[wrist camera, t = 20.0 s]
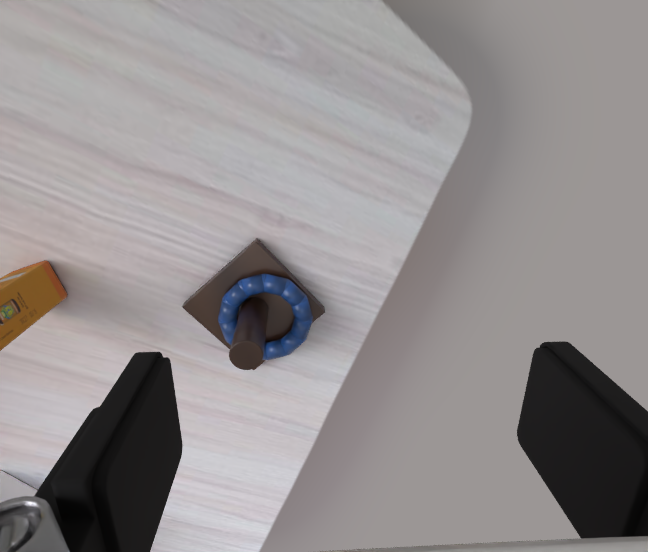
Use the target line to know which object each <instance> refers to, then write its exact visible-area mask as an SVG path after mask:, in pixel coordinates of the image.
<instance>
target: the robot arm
mask: <svg viewBox="0 0 648 552" xmlns="http://www.w3.org/2000/svg"><path fill="white" fill-rule="evenodd" d="M517 436H518V441H519V443H520V445H521V447H522V448H523V450H524V452H525V453H526V455H527V456H528V458H529V459H530V461H531V462H532V464H533V465H534V467H535V468H536V470H537V471H538V473H539V475H541V477H542V479H543V481H544V482H545V484H546V485H547V487H548V488H549V490H550V491H551V493H552V494H553V496H554V497H555V499H556V501H557V502H558V503H559V505H560V506H561V508H562V509H563V511H564V513H565V514H566V515H567V517H568V519H569V520H570V522H571V523H572V525H573V527H574V528H575V529H576V531H577V533H578V534H579V536H580V537H581V539H563V540H562V539H561V540H540V541H517V542H494V543H475V544H454V545H434V546H416V547H415V546H414V547H395V548H376V549H357V550H340V551H321V552H648V411H647V410H645V409H644V408H643V407H642V406H641V405H639V403H637V402H636V401H635V400H634V399H633V398H631V396H629V395H628V394H627V393H626V392H625V391H624V390H623V389H621V388H620V387H619V386H618V385H617V384H616V383H615V382H613V381H612V380H611V379H610V378H609V377H608V376H607V375H605V374H604V373H603V372H602V371H601V370H600V369H599V368H597V367H596V366H595V365H594V364H593V363H592V362H590V360H588V359H587V358H586V357H585V356H584V355H583V354H582V353H580V352H579V351H578V350H577V349H576V348H575V347H574V346H572V345H571V344H570V343H568V342H544V343H542V344H541V345H540V348H536V349H535V351H534V354H533V358H532V363H531V367H530V372H529V377H528V382H527V387H526V392H525V396H524V401H523V405H522V411H521V415H520V420H519V424H518V429H517ZM181 455H182V438H181V431H180V424H179V417H178V410H177V403H176V397H175V390H174V383H173V376H172V369H171V363H170V359H169V358H163V356H162V354H161V353H160V352H138V353H135V354H134V356H133V357H132V359H131V360H130V362H129V363H128V365H127V366H126V368H125V369H124V371H123V372H122V374H121V375H120V377H119V379H118V380H117V382H116V383H115V385H114V386H113V388H112V389H111V391H110V392H109V394H108V395H107V397H106V398H105V400H104V401H103V403H102V405H101V406H100V407H97V408H95V409H93V410H92V411H91V413H90V414H89V415H88V417H87V418H86V420H85V421H84V423H83V424H82V426H81V427H80V429H79V430H78V432H77V433H76V435H75V436H74V438H73V439H72V440H71V442H70V443H69V445H68V446H67V448H66V449H65V451H64V452H63V454H62V455H61V457H60V458H59V460H58V461H57V463H56V464H55V466H54V467H53V469H52V470H51V472H50V473H49V475H48V476H47V478H46V479H45V481H44V482H43V484H42V485H41V486H40V488H39V489H38V491H37V492H36V494H35V495H34V496H22V497H18V498H13V499H9V500H6V501H4V502H1V503H0V552H150V550H151V547H152V544H153V541H154V538H155V535H156V532H157V529H158V526H159V523H160V520H161V517H162V514H163V511H164V508H165V505H166V502H167V499H168V496H169V492H170V489H171V486H172V483H173V480H174V477H175V474H176V471H177V468H178V465H179V462H180V459H181Z"/></svg>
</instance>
